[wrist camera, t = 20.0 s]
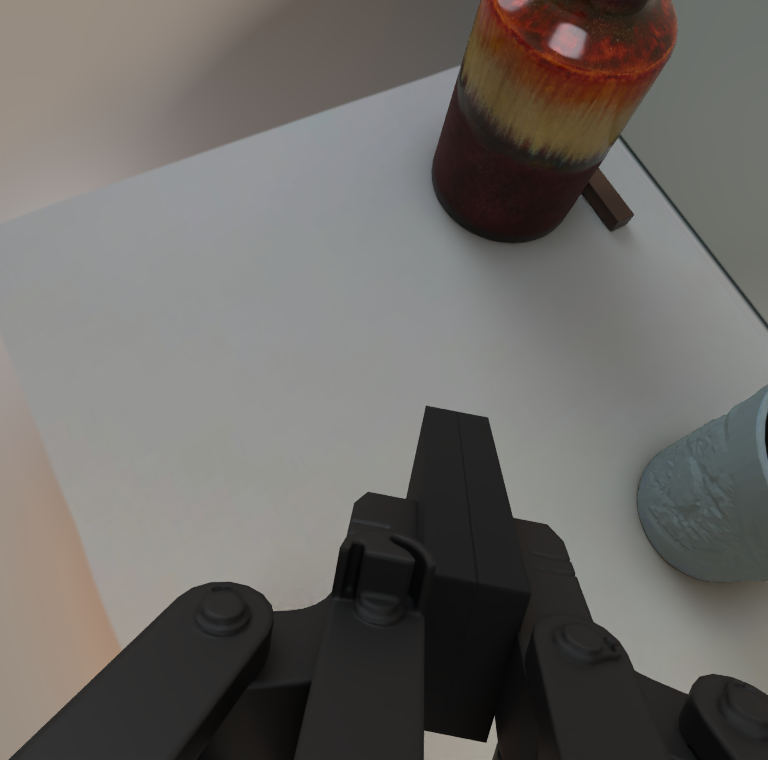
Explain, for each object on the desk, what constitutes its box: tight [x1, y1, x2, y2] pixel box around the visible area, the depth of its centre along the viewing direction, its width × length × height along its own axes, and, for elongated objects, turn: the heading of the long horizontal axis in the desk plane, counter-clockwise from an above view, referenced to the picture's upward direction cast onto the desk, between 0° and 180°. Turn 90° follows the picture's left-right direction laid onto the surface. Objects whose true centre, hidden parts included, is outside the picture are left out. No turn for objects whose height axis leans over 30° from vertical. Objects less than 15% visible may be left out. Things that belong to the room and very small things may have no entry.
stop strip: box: [582, 168, 634, 231], centre depth 48 cm, size 14×2×1 cm, turn 29°
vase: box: [432, 0, 678, 243], centre depth 37 cm, size 11×11×20 cm
